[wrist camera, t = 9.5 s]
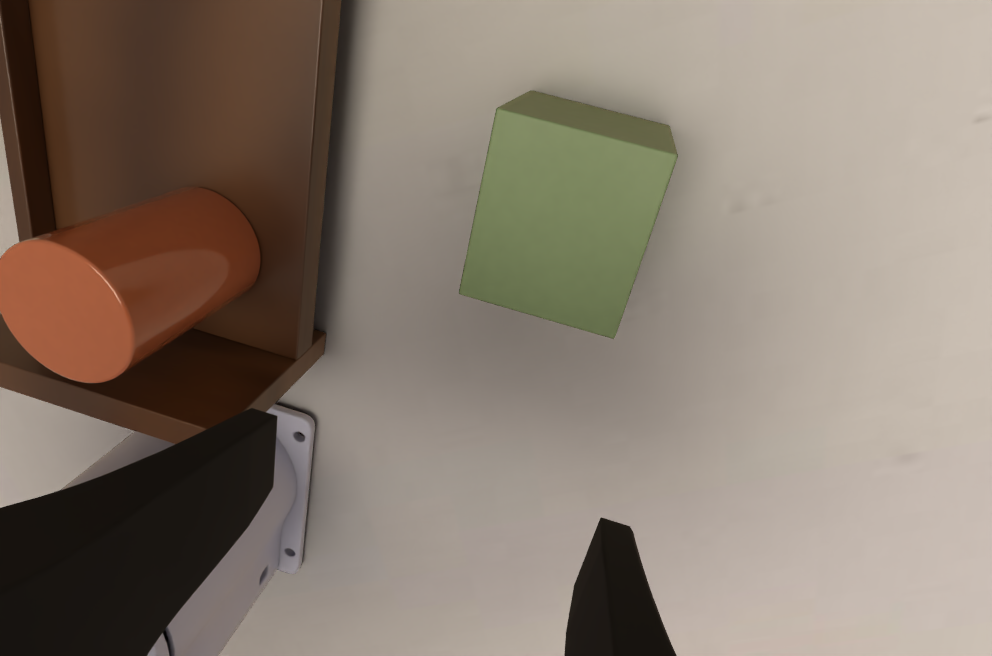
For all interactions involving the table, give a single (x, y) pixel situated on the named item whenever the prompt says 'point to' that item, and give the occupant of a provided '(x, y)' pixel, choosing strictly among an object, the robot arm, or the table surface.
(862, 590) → the table surface
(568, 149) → the green block
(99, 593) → the robot arm
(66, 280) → the terracotta cylinder
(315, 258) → the shelf
